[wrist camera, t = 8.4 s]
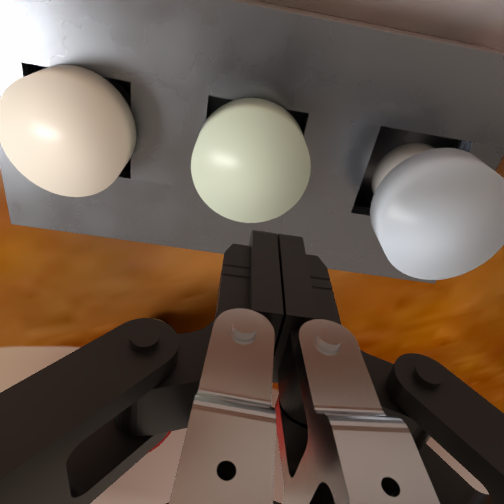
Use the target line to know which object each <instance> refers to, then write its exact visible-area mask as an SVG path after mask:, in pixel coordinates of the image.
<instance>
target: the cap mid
mask: <svg viewBox="0 0 504 504" xmlns="http://www.w3.org/2000/svg"><path fill="white" fill-rule="evenodd" d="M310 170H311V163H310V156H309V151H308V148H307V145H306V142H305V139H304V136H303V133H302V131H301V128H300V127H299V125H298V123H297V122H296V120H295V119H294V117H293V116H292V115H291V114H290V113H289V112H288V111H286V110H285V109H284V108H283V107H281V106H279V105H277V104H276V103H273V102H271V101H268V100H265V99H260V98H242V99H237V100H234V101H230V102H228V103H226V104H224V105H222V106H221V107H219V108H218V109H217V110H215V111H214V112H213V113H212V114H211V115H210V116H209V117H208V119H207V120H206V121H205V123H204V124H203V126H202V128H201V130H200V133H199V136H198V138H197V141H196V144H195V147H194V150H193V153H192V159H191V174H192V179H193V183H194V185H195V188H196V190H197V192H198V194H199V195H200V197H201V198H202V200H203V201H204V202H205V203H206V204H207V205H208V206H209V207H210V208H211V209H212V210H214V211H215V212H216V213H218V214H220V215H221V216H223V217H225V218H228V219H231V220H234V221H238V222H244V223H258V222H264V221H268V220H271V219H274V218H277V217H279V216H280V215H282V214H284V213H285V212H287V211H288V210H290V209H291V208H292V207H293V206H294V205H295V204H296V203H297V202H298V201H299V199H300V198H301V196H302V195H303V193H304V191H305V189H306V187H307V184H308V182H309V177H310Z"/></svg>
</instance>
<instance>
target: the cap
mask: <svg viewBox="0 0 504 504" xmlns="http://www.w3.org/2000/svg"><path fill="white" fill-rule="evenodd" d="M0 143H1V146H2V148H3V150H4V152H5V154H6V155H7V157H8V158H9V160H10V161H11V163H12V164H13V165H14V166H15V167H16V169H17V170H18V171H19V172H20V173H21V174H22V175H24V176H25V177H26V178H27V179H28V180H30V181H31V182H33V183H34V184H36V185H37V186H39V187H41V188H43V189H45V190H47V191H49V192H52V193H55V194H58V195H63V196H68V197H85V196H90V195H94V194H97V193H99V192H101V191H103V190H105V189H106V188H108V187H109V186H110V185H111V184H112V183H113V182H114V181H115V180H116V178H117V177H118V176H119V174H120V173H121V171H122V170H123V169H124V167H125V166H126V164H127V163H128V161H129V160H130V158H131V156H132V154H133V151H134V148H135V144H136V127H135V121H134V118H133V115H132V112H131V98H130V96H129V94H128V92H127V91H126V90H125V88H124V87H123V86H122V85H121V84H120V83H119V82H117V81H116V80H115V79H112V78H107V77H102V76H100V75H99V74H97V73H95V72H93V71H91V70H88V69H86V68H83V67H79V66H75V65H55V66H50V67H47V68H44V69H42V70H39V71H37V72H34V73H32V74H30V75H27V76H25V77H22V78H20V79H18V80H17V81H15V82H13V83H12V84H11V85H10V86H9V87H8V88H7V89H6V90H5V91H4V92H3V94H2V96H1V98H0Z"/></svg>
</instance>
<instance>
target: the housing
mask: <svg viewBox="0 0 504 504" xmlns="http://www.w3.org/2000/svg"><path fill="white" fill-rule="evenodd" d="M55 65H75V66H79V67H83V68H86V69H88V70H91V71H93V72H95V73H97V74H99V75H100V76H102V77H107V78H112V79H115V80H116V81H117V82H119V83H120V84H121V85H122V86H123V87H124V88H125V90H126V91H127V92H128V94H129V96H130V98H131V112H132V115H133V118H134V121H135V127H136V144H135V148H134V151H133V154H132V156H131V158H130V160H129V161H128V163H127V164H126V166H125V167H124V169H123V170H122V171H121V173H120V174H119V176H118V177H117V178H116V180H115V181H114V182H113V183H112V184H111V185H110V186H109V187H108V188H106V189H105V190H103V191H101V192H99V193H97V194H94V195H90V196H85V197H68V196H63V195H58V194H55V193H52V192H49V191H47V190H45V189H43V188H41V187H39V186H37V185H36V184H34V183H33V182H31V181H30V180H28V179H27V178H26V177H25V176H24V175H22V174H21V173H20V172H19V171H18V170H17V169H16V167H15V166H14V165H13V164H12V163H11V161H10V160H9V158H8V157H7V155H6V154H5V152H4V150H3V148H2V146H1V143H0V167H1V172H2V178H3V183H4V188H5V193H6V199H7V204H8V209H9V215H10V220H11V224H16V225H23V226H30V227H37V228H44V229H51V230H58V231H65V232H72V233H80V234H87V235H94V236H101V237H108V238H115V239H122V240H129V241H136V242H143V243H150V244H158V245H165V246H172V247H179V248H186V249H193V250H200V251H207V252H214V253H221V254H224V253H225V251H226V250H227V249H228V248H229V247H230V246H231V245H232V244H240V245H247V246H249V242H250V237H251V232H252V230H259V231H266V232H272V233H277V234H278V233H279V234H286V235H293V236H299V237H303V241H304V246H305V252H306V254H308V255H315V256H318V257H319V258H320V260H321V261H322V262H323V263H324V264H325V266H326V267H327V268H328V269H335V270H342V271H349V272H356V273H363V274H370V275H377V276H385V277H392V278H399V279H406V280H413V281H420V282H427V283H434V284H435V282H436V280H426V279H419V278H414V277H411V276H408V275H406V274H404V273H402V272H401V271H399V270H398V269H396V268H395V267H394V266H393V265H392V264H391V263H390V261H389V260H388V258H387V256H386V255H385V253H384V251H383V248H382V246H381V244H380V242H379V240H378V238H377V236H376V234H375V232H374V230H373V228H372V224H371V219H370V208H371V202H372V199H373V196H374V193H373V190H372V176H373V173H374V170H375V168H376V166H377V164H378V163H379V162H380V160H381V159H382V158H383V157H384V156H385V155H386V154H387V153H388V152H390V151H391V150H393V149H395V148H397V147H399V146H401V145H404V144H408V143H423V144H427V145H430V146H432V147H433V148H435V149H436V148H456V149H460V150H464V151H466V152H469V153H471V154H473V155H474V156H476V157H477V158H478V159H480V160H481V161H482V162H484V163H485V164H486V165H488V166H489V167H490V168H491V169H493V170H494V171H496V169H497V167H498V165H499V163H500V161H501V159H502V158H503V156H504V51H500V50H496V49H492V48H489V47H485V46H480V45H475V44H470V43H465V42H460V41H455V40H450V39H445V38H440V37H435V36H430V35H425V34H420V33H415V32H410V31H405V30H400V29H395V28H390V27H385V26H380V25H375V24H370V23H365V22H360V21H355V20H350V19H345V18H340V17H336V16H331V15H326V14H321V13H316V12H311V11H306V10H301V9H296V8H291V7H286V6H281V5H276V4H271V3H266V2H261V1H256V0H0V98H1V96H2V94H3V92H4V91H5V90H6V89H7V88H8V87H9V86H10V85H11V84H12V83H13V82H15V81H17V80H18V79H20V78H22V77H25V76H27V75H30V74H32V73H34V72H37V71H39V70H42V69H44V68H47V67H50V66H55ZM242 98H260V99H265V100H268V101H271V102H273V103H276V104H277V105H279V106H281V107H283V108H284V109H285V110H286V111H288V112H289V113H290V114H291V115H292V116H293V117H294V119H295V120H296V122H297V123H298V125H299V127H300V128H301V131H302V133H303V136H304V139H305V142H306V145H307V148H308V151H309V156H310V163H311V170H310V177H309V182H308V184H307V187H306V189H305V191H304V193H303V195H302V196H301V198H300V199H299V201H298V202H297V203H296V204H295V205H294V206H293V207H292V208H291V209H290V210H288V211H287V212H285V213H284V214H282V215H280V216H279V217H277V218H274V219H271V220H268V221H264V222H258V223H244V222H238V221H234V220H231V219H228V218H225V217H223V216H221V215H220V214H218V213H216V212H215V211H214V210H212V209H211V208H210V207H209V206H208V205H207V204H206V203H205V202H204V201H203V200H202V198H201V197H200V195H199V194H198V192H197V190H196V188H195V185H194V183H193V179H192V174H191V159H192V153H193V150H194V147H195V144H196V141H197V138H198V136H199V133H200V130H201V128H202V126H203V124H204V123H205V121H206V120H207V119H208V117H209V116H210V115H211V114H212V113H213V112H214V111H215V110H217V109H218V108H219V107H221V106H222V105H224V104H226V103H228V102H230V101H234V100H237V99H242Z"/></svg>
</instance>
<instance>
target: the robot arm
mask: <svg viewBox="0 0 504 504" xmlns="http://www.w3.org/2000/svg"><path fill="white" fill-rule="evenodd" d="M272 382H274V383H278V387H279V395H278V398H277V401H276V404H275V408H273V407H271V397H272V396H271V395H272ZM276 427H277V435H278V443H279V451H280V459H281V467H282V475H283V484H284V495H283V503H282V504H504V413H502V412H501V411H500V410H498V409H497V408H496V407H495V406H493V405H492V404H491V403H490V402H488V401H487V400H486V399H484V398H483V397H482V396H481V395H479V394H478V393H477V392H476V391H474V390H473V389H472V388H470V387H469V386H468V385H467V384H465V383H464V382H463V381H462V380H460V379H459V378H458V377H456V376H455V375H454V374H453V373H451V372H450V371H449V370H448V369H446V368H445V367H444V366H442V365H441V364H440V363H438V362H437V361H435V360H433V359H431V358H429V357H426V356H424V355H420V354H413V353H410V354H404V355H402V356H400V357H399V358H398V359H397V360H396V362H395V363H394V364H392V363H390V362H387V361H384V360H382V359H379V358H377V357H374V356H372V355H369V354H367V353H365V352H363V351H362V350H360V348H359V346H358V343H357V341H356V339H355V337H354V336H353V335H352V334H351V332H350V331H348V330H347V329H346V328H345V327H343V326H342V325H341V322H340V318H339V314H338V310H337V306H336V302H335V298H334V294H333V291H332V286H331V282H330V278H329V274H328V270H327V267H326V266H325V264H324V263H323V262H322V261H321V260H320V258H319V257H318V256H315V255H308V254H306V252H305V246H304V241H303V237H299V236H293V235H286V234H279V233H278V234H277V233H272V232H266V231H259V230H252V232H251V237H250V242H249V246H247V245H240V244H232V245H231V246H230V247H229V248H228V249H227V250H226V251H225V253H224V259H223V265H222V272H221V278H220V284H219V290H218V298H217V306H216V314H215V319H214V320H213V321H212V322H211V323H210V324H209V325H208V326H206V327H205V328H203V329H200V330H198V331H194V332H189V333H181V334H177V333H176V331H175V330H174V329H173V328H172V327H171V326H170V325H168V324H167V323H165V322H163V321H160V320H157V319H152V318H140V319H135V320H131V321H128V322H126V323H124V324H122V325H120V326H119V327H117V328H115V329H113V330H111V331H110V332H108V333H106V334H104V335H103V336H101V337H99V338H97V339H95V340H94V341H92V342H90V343H88V344H87V345H85V346H83V347H81V348H79V349H78V350H76V351H74V352H72V353H70V354H69V355H67V356H65V357H63V358H62V359H60V360H58V361H56V362H54V363H53V364H51V365H49V366H47V367H46V368H44V369H42V370H40V371H38V372H37V373H35V374H33V375H31V376H30V377H28V378H26V379H24V380H23V381H21V382H19V383H17V384H15V385H14V386H12V387H10V388H8V389H6V390H5V391H3V392H1V393H0V504H90V503H91V502H92V501H93V500H94V499H96V497H98V496H99V495H100V494H101V493H102V492H104V491H105V490H106V489H107V488H108V487H109V486H110V485H111V484H113V483H114V482H115V481H116V480H117V479H118V478H119V477H121V476H122V475H123V474H124V473H125V472H126V471H128V470H129V469H130V468H131V467H132V466H133V465H134V464H135V463H137V462H138V461H139V460H140V459H141V458H142V457H143V456H145V455H146V454H147V453H148V452H149V451H150V450H151V449H153V448H154V447H155V446H156V445H157V444H158V443H159V442H161V441H162V440H163V439H164V438H165V436H166V435H167V433H168V432H169V431H174V430H178V429H182V428H187V431H186V435H185V439H184V443H183V447H182V451H181V456H180V459H179V464H178V468H177V472H176V476H175V480H174V484H173V488H172V493H171V497H170V501H169V503H167V504H281V503H278V502H276V501H273V488H274V462H275V461H274V458H275V434H276ZM430 437H432V438H433V439H434V440H436V441H437V443H439V444H440V445H441V446H442V447H443V448H444V449H445V450H446V451H447V452H448V453H450V455H452V456H453V457H454V458H455V459H456V460H457V461H458V462H459V463H460V464H461V465H462V466H464V467H465V468H466V469H467V470H468V471H469V472H470V473H471V474H472V475H473V476H474V477H475V478H476V479H478V480H479V481H480V482H481V483H482V484H483V485H484V487H485V488H486V489H487V491H488V492H489V495H486V494H483V493H480V492H478V491H477V490H475V489H474V488H473V487H472V486H470V485H469V484H468V483H467V482H466V481H465V480H464V479H463V478H462V477H461V476H460V475H459V474H458V473H457V472H456V471H455V470H453V469H452V468H451V467H450V466H449V465H448V464H447V463H446V462H445V461H444V460H443V459H442V458H441V457H440V456H439V455H438V454H436V453H435V452H434V451H433V450H432V449H431V448H430V447H429V446H428V445H427V444H426V442H427V441H428V440H429V438H430Z"/></svg>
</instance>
